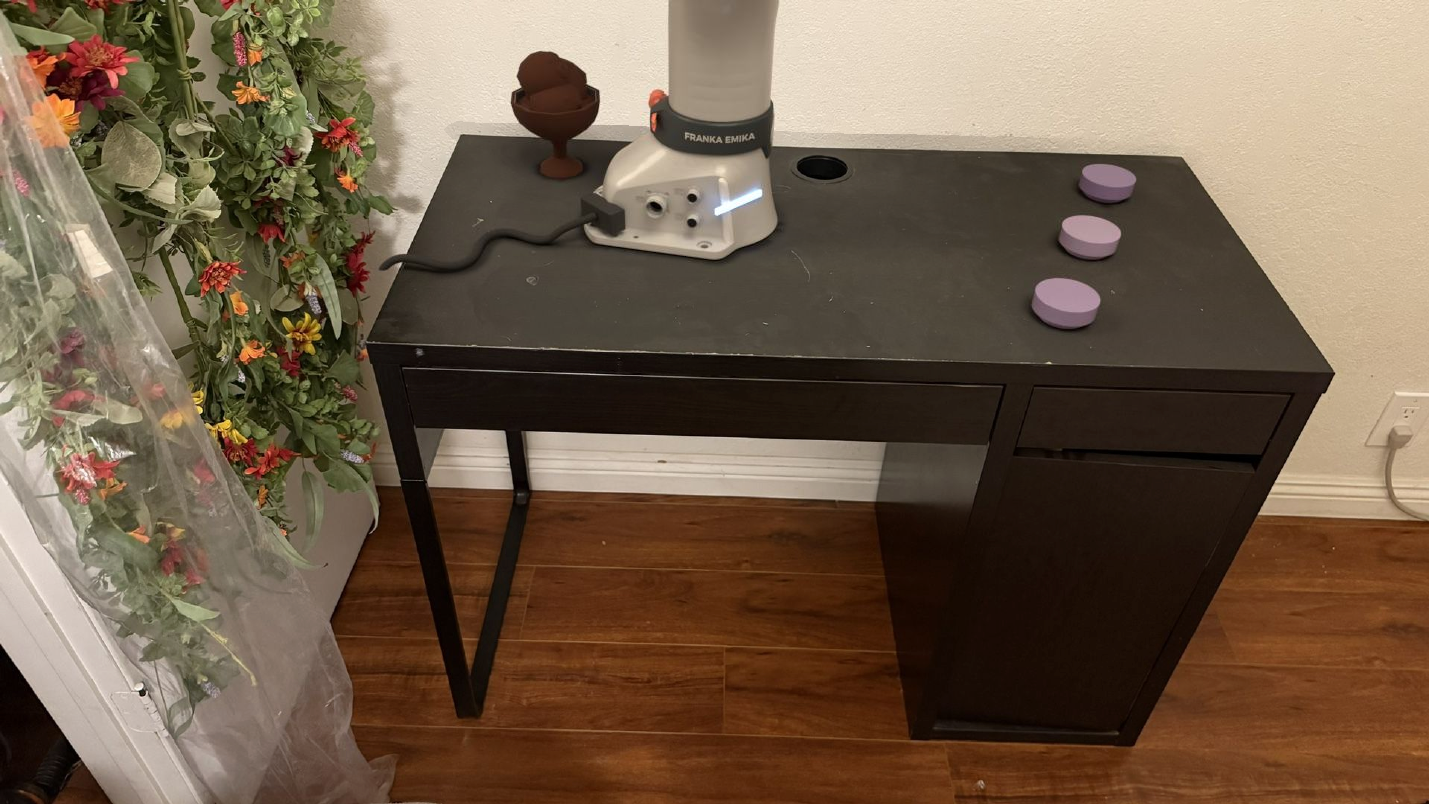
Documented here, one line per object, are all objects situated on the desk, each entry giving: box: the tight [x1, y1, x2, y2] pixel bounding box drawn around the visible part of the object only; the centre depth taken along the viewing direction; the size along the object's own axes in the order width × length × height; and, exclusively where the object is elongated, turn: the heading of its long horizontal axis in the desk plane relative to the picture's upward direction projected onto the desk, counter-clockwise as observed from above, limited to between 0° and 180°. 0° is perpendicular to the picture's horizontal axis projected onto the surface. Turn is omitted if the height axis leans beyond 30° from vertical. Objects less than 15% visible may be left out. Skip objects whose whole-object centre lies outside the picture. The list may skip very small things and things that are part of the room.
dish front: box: [1031, 277, 1101, 330], centre depth 101 cm, size 6×6×3 cm
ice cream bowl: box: [510, 50, 601, 179], centre depth 121 cm, size 11×11×15 cm
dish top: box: [1058, 215, 1122, 261], centre depth 112 cm, size 6×6×3 cm
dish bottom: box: [1078, 163, 1137, 204], centre depth 123 cm, size 6×6×3 cm
